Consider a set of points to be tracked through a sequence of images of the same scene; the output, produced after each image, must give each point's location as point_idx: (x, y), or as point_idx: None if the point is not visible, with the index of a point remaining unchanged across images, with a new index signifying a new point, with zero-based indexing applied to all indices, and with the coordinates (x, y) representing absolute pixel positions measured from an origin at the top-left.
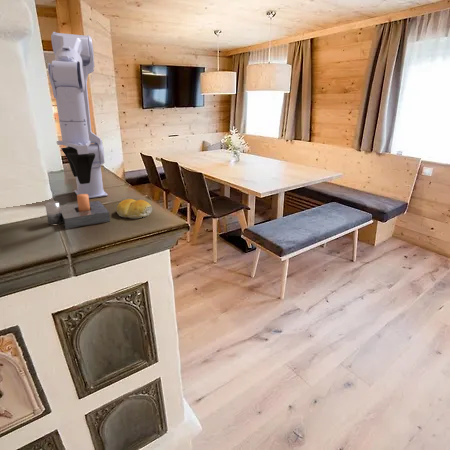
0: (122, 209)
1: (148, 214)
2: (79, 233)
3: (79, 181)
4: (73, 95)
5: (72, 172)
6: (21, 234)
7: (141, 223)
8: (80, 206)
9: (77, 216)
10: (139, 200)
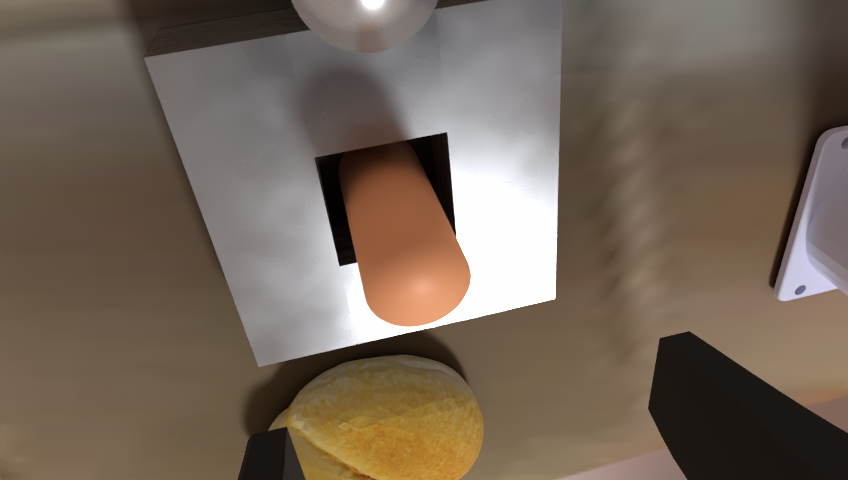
0: (324, 420)
1: None
2: (33, 133)
3: (242, 462)
4: None
5: (702, 367)
6: None
7: (177, 458)
8: (362, 207)
9: (193, 167)
10: None
